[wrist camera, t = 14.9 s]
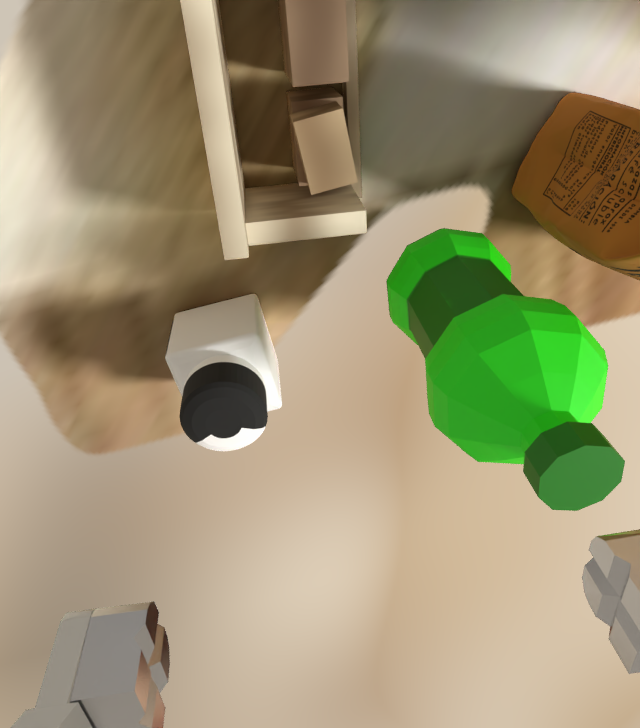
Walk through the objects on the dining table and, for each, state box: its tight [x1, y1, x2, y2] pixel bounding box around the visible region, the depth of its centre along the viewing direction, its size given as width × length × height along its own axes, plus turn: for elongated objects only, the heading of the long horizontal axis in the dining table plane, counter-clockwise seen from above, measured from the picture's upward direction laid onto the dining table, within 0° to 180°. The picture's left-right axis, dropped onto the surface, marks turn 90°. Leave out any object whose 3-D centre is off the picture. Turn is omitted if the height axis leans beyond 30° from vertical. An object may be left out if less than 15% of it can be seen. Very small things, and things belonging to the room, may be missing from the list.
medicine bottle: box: [165, 294, 282, 451], centre depth 45 cm, size 7×7×12 cm
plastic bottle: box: [387, 228, 625, 511], centre depth 38 cm, size 10×10×25 cm
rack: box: [180, 0, 367, 260], centre depth 35 cm, size 10×18×10 cm, turn 4°
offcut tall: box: [278, 0, 349, 87], centre depth 35 cm, size 3×6×8 cm, turn 4°
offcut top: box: [290, 101, 358, 195], centre depth 36 cm, size 3×4×3 cm
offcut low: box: [286, 87, 343, 186], centre depth 39 cm, size 3×5×5 cm, turn 4°
